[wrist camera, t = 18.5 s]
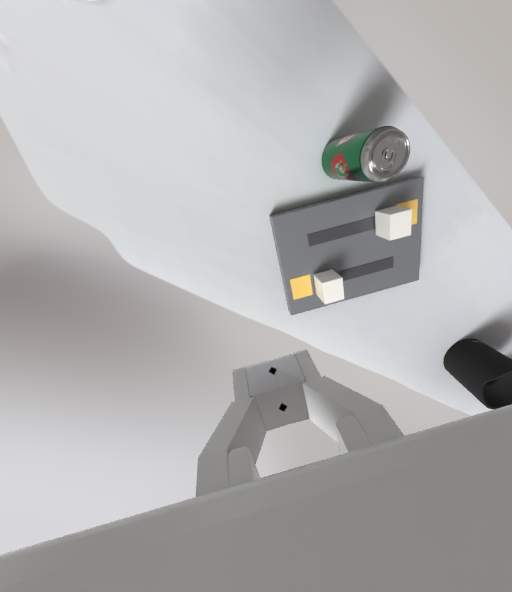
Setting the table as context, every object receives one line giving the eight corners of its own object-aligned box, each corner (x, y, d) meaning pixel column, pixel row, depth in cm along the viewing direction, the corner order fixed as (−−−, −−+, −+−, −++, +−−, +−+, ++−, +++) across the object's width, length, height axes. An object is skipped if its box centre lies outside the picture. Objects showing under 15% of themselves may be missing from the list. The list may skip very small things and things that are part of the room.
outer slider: (313, 274, 41) (322, 283, 38) (332, 269, 41) (342, 277, 38) (316, 294, 43) (324, 304, 39) (334, 289, 43) (344, 299, 39)
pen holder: (488, 354, 58) (538, 388, 49) (449, 379, 59) (491, 417, 50) (474, 327, 54) (527, 359, 45) (433, 355, 56) (476, 391, 47)
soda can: (358, 138, 36) (419, 124, 25) (352, 179, 38) (407, 182, 28) (322, 137, 36) (369, 123, 25) (318, 179, 38) (361, 183, 27)
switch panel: (269, 215, 39) (272, 217, 37) (414, 177, 39) (424, 177, 38) (288, 309, 46) (291, 315, 44) (410, 275, 47) (419, 280, 45)
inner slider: (375, 211, 38) (390, 214, 35) (395, 205, 38) (411, 209, 35) (375, 235, 40) (390, 240, 37) (395, 229, 40) (410, 235, 37)
